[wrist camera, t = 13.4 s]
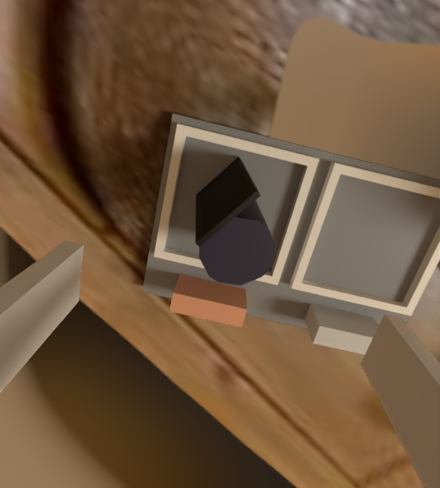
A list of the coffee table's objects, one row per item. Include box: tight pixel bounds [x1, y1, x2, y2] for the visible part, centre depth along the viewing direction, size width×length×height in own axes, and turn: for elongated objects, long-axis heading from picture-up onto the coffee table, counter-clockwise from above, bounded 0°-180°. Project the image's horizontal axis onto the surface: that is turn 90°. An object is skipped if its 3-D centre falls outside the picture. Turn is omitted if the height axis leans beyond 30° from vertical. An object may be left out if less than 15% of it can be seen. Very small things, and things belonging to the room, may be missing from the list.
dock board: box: [142, 114, 440, 355], centre depth 31 cm, size 18×28×5 cm, turn 77°
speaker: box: [195, 157, 277, 286], centre depth 27 cm, size 8×6×10 cm
